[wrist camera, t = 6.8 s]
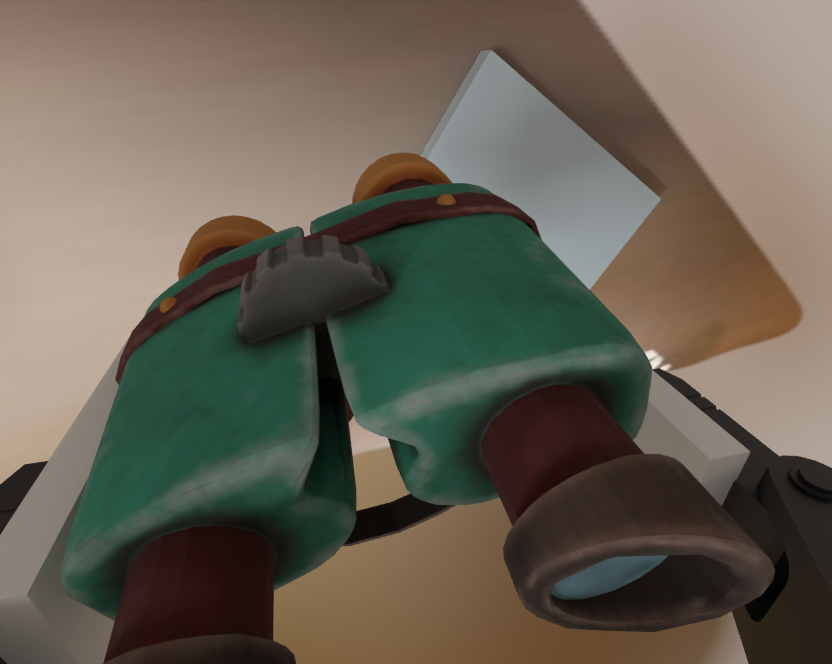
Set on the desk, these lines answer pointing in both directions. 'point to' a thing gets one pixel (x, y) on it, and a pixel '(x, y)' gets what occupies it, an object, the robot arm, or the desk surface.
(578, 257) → the board
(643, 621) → the binoculars
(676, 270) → the desk surface
